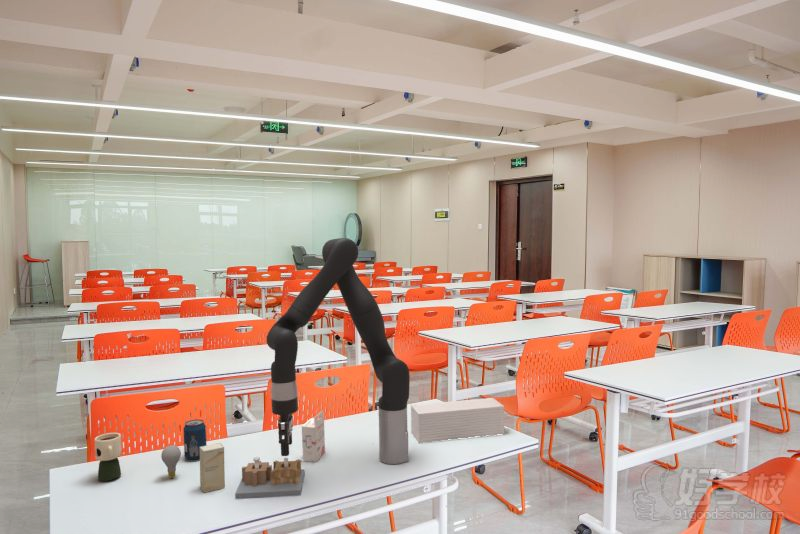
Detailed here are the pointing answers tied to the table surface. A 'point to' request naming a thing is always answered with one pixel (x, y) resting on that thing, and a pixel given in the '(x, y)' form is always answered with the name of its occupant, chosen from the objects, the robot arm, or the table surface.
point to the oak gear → (285, 472)
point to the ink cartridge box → (313, 438)
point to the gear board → (270, 489)
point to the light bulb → (171, 459)
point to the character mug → (108, 455)
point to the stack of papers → (456, 419)
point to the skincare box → (212, 467)
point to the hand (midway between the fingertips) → (286, 449)
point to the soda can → (194, 439)
